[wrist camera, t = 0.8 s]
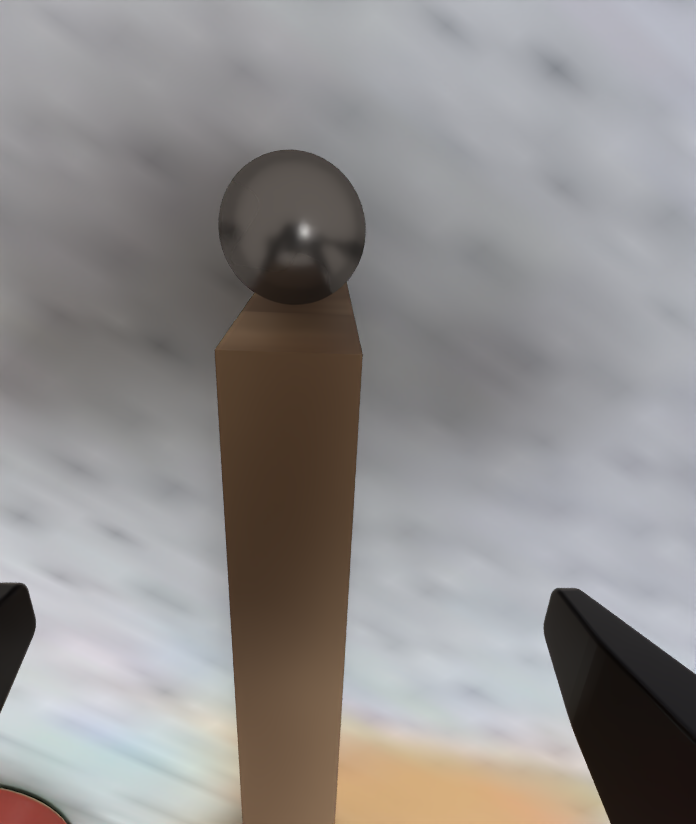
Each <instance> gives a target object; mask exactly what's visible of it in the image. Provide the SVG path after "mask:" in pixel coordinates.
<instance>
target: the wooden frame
mask: <svg viewBox="0 0 696 824" xmlns="http://www.w3.org/2000/svg"><path fill="white" fill-rule="evenodd" d="M362 356H363V354H362V350H361V345H360V341H359V336H358V332H357V327H356V323H355V318H354V314H353V309H352V304H351V300H350V295H349V291H348V286H347V282H346V283H345V284H344V285H343V286H342V287H341V288H339V289H338V290H337V291H336V292H334V293H333V294H331V295H329V296H328V297H326V298H324V299H321V300H319V301H316V302H313V303H308V304H302V305H289V304H282V303H277V302H274V301H271V300H268V299H266V298H264V297H262V296H260V295H258V294H256V293H254V294H253V296H252V297H251V298H250V300H249V301H248V303H247V304H246V306H245V307H244V309H243V310H242V311H241V313H240V314H239V316H238V317H237V319H236V320H235V321H234V323H233V324H232V326H231V327H230V329H229V330H228V331H227V333H226V334H225V336H224V337H223V339H222V340H221V341H220V343H219V344H218V346H217V347H216V349H215V364H216V381H217V398H218V415H219V431H220V448H221V465H222V482H223V499H224V516H225V532H226V549H227V566H228V583H229V600H230V617H231V633H232V650H233V667H234V684H235V701H236V718H237V734H238V751H239V768H240V785H241V802H242V819H243V824H335V811H336V795H337V778H338V761H339V744H340V727H341V710H342V693H343V676H344V660H345V643H346V626H347V609H348V592H349V575H350V558H351V541H352V524H353V508H354V491H355V474H356V457H357V440H358V423H359V406H360V389H361V373H362Z"/></svg>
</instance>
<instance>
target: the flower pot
mask: <svg viewBox="0 0 696 824" xmlns="http://www.w3.org/2000/svg"><path fill="white" fill-rule="evenodd" d="M0 824H67V823H66V822H65V820H64V819H63V818H62V817H61V816H60V815H59V814H58V813H57V812H55V811H54V810H53V809H52V808H50V807H49V806H47V805H46V804H44V803H42V802H40V801H38V800H36V799H34V798H32V797H29V796H27V795H24V794H22V793H18V792H15V791H12V790H7V789H3V788H0Z"/></svg>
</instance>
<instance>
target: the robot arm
mask: <svg viewBox="0 0 696 824" xmlns="http://www.w3.org/2000/svg"><path fill="white" fill-rule="evenodd" d="M35 628H36V618H35V614H34V610H33V606H32V603H31V599H30V595H29V591H28V588H27V587H26V585H25V584H23V583H0V713H1V710H2V708H3V706H4V703H5V701H6V699H7V696H8V694H9V692H10V689H11V687H12V685H13V682H14V680H15V678H16V675H17V673H18V671H19V668H20V666H21V664H22V661H23V659H24V657H25V654H26V652H27V650H28V647H29V645H30V643H31V640H32V638H33V635H34V632H35ZM544 636H545V640H546V643H547V647H548V650H549V653H550V657H551V660H552V663H553V667H554V670H555V674H556V677H557V680H558V684H559V687H560V690H561V694H562V697H563V701H564V704H565V707H566V711H567V714H568V717H569V720H570V723H571V726H572V729H573V731H574V734H575V737H576V739H577V742H578V744H579V747H580V749H581V752H582V754H583V756H584V759H585V761H586V764H587V766H588V769H589V771H590V774H591V776H592V779H593V781H594V783H595V786H596V788H597V791H598V793H599V796H600V798H601V801H602V803H603V806H604V808H605V811H606V813H607V815H608V818H609V820H610V823H611V824H696V674H695V673H693V672H692V671H690V670H689V669H688V668H686V667H685V666H684V665H682V664H681V663H680V662H678V661H677V660H675V659H674V658H673V657H671V656H670V655H669V654H667V653H666V652H665V651H663V650H662V649H660V648H659V647H658V646H656V645H655V644H654V643H652V642H651V641H650V640H648V639H647V638H645V637H644V636H643V635H641V634H640V633H639V632H637V631H636V630H635V629H633V628H632V627H630V626H629V625H628V624H626V623H625V622H624V621H622V620H621V619H620V618H618V617H617V616H615V615H614V614H613V613H611V612H610V611H609V610H607V609H606V608H605V607H603V606H602V605H600V604H599V603H598V602H596V601H595V600H594V599H592V598H591V597H590V596H588V595H587V594H585V593H584V592H583V591H581V590H579V589H577V588H556V589H554V590H553V592H552V594H551V597H550V601H549V605H548V608H547V612H546V616H545V620H544Z"/></svg>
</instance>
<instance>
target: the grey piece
mask: <svg viewBox="0 0 696 824" xmlns="http://www.w3.org/2000/svg"><path fill="white" fill-rule="evenodd" d="M219 236H220V242H221V246H222V249H223V252H224V255H225V257H226V259H227V261H228V263H229V265H230V267H231V269H232V270H233V271H234V273H235V274H236V276H237V277H238V278H239V279H240V280H241V281H242V282H243V283H244V284H245V285H246V286H247V287H248V288H249V289H251V290H252V291H253V292H255V293H256V294H258V295H260V296H262V297H264V298H266V299H268V300H271V301H274V302H277V303H282V304H289V305H302V304H308V303H313V302H316V301H319V300H321V299H324V298H326V297H328V296H329V295H331V294H333V293H334V292H336V291H337V290H338V289H339V288H341V287H342V286H343V285H344V284H345V283H346V282H347V280H348V279H349V278H350V277H351V275H352V274H353V272H354V271H355V269H356V267H357V265H358V263H359V261H360V258H361V256H362V252H363V248H364V243H365V218H364V213H363V209H362V205H361V202H360V200H359V197H358V195H357V193H356V191H355V189H354V188H353V186H352V184H351V183H350V182H349V180H348V179H347V178H346V176H345V175H344V174H343V173H342V172H341V171H340V170H339V169H338V168H336V167H335V166H334V165H333V164H331V163H330V162H328V161H326V160H325V159H323V158H321V157H319V156H317V155H314V154H312V153H308V152H304V151H298V150H280V151H274V152H270V153H267V154H264V155H262V156H260V157H258V158H256V159H254V160H252V161H251V162H250V163H248V164H247V165H245V166H244V167H243V168H242V169H241V170H240V171H239V172H238V173H237V174H236V176H235V177H234V178H233V179H232V181H231V183H230V184H229V186H228V188H227V190H226V192H225V194H224V197H223V199H222V203H221V207H220V213H219Z"/></svg>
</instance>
